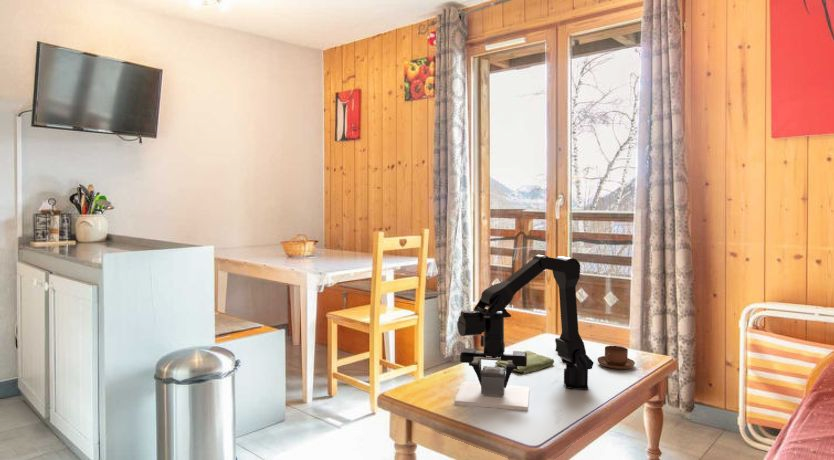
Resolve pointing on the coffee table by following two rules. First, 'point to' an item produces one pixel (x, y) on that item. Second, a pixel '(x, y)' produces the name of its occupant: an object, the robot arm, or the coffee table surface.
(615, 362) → the cup and saucer
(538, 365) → the washcloth
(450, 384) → the coffee table surface
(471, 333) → the robot arm
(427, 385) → the coffee table surface
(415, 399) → the coffee table surface
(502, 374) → the dark grey framed cube
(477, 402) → the post plate
